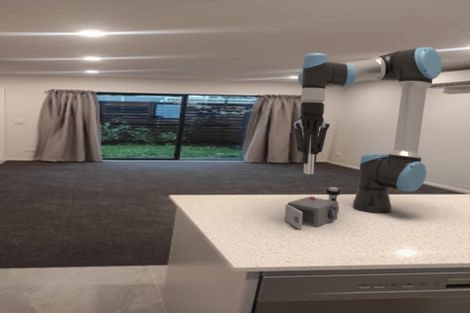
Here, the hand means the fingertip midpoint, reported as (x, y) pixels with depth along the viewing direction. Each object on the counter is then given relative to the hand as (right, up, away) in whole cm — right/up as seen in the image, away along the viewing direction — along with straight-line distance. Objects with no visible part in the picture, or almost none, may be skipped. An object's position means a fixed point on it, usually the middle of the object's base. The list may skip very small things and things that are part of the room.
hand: (308, 173), depth 133 cm
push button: (+13, -17, +24) cm, 32 cm away
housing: (+4, -17, +12) cm, 22 cm away
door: (-5, -18, +4) cm, 19 cm away
